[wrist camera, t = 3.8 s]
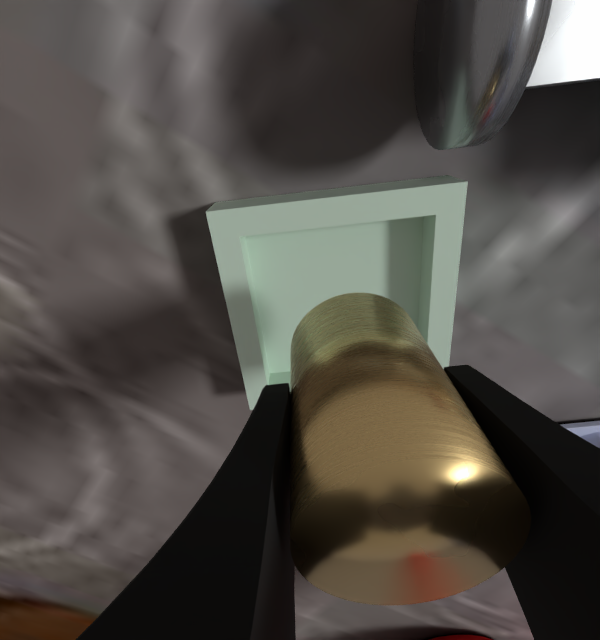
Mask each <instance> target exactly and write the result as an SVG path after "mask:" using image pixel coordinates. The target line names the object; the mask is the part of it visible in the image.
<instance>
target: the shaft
mask: <svg viewBox="0 0 600 640" xmlns="http://www.w3.org/2000/svg"><path fill="white" fill-rule="evenodd" d="M598 80H600V0H418V5H417V14H416V24H415V37H414V90H415V100H416V107H417V113H418V118H419V122H420V126H421V129H422V131H423V134H424V136H425V138H426V140H427V142H428V143H429V144H430V145H431V146H432V147H433V148H435V149H438V150H444V149H452V148H461V147H469V146H478V145H481V144H484V143H486V142H487V141H489V140H490V139H492V138H493V137H494V136H495V135H496V134H497V133H498V132H499V131H500V130H501V128H502V127H503V126H504V125H505V123H506V122H507V121H508V119H509V117H510V116H511V114H512V113H513V111H514V110H515V108H516V106H517V104H518V102H519V100H520V99H521V97H522V95H523V92H524V90H525V89H533V88H542V87H550V86H558V85H566V84H574V83H582V82H590V81H598Z"/></svg>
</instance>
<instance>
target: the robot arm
mask: <svg viewBox="0 0 600 640" xmlns="http://www.w3.org/2000/svg"><path fill="white" fill-rule="evenodd" d="M444 371H445V373H446V374H447V376H448V377H449V379H450V380H451V382H452V384H453V385H454V387H455V388H456V390H457V391H458V393H459V395H460V396H461V398H462V399H463V401H464V402H465V404H466V406H467V407H468V409H469V410H470V412H471V413H472V415H473V416H474V418H475V420H476V421H477V423H478V424H479V426H480V427H481V429H482V431H483V432H484V434H485V435H486V437H487V438H488V440H489V442H490V443H491V445H492V446H493V448H494V449H495V451H496V453H497V454H498V456H499V457H500V459H501V460H502V462H503V464H504V465H505V467H506V468H507V470H508V471H509V473H510V475H511V476H512V478H513V479H514V481H515V482H516V484H517V486H518V487H519V489H520V490H521V492H522V493H523V495H524V497H525V498H526V500H527V503H528V505H529V508H530V513H531V526H530V531H529V534H528V537H527V539H526V541H525V543H524V545H523V547H522V548H521V550H520V551H519V553H518V554H517V555H516V556H515V557H514V558H513V560H512V561H511V562H510V563H509V564H508V565H506V566H505V569H506V571H507V573H508V576H509V578H510V580H511V583H512V585H513V588H514V590H515V593H516V595H517V597H518V600H519V602H520V605H521V607H522V610H523V612H524V615H525V617H526V619H527V622H528V625H529V627H530V630H531V632H532V635H533V637H534V640H600V421H592V422H581V423H570V424H560V425H559V424H558V423H556V422H554V421H553V420H551V419H550V418H548V417H546V416H545V415H543V414H542V413H540V412H539V411H537V410H535V409H534V408H532V407H531V406H529V405H528V404H526V403H525V402H523V401H522V400H520V399H519V398H517V397H516V396H514V395H513V394H511V393H510V392H508V391H507V390H505V389H504V388H502V387H501V386H499V385H498V384H496V383H495V382H493V381H492V380H490V379H489V378H487V377H486V376H484V375H483V374H481V373H480V372H478V371H477V370H475V369H474V368H472V367H471V366H469V365H460V366H450V367H444ZM294 566H295V564H294V561H293V559H292V556H291V551H290V387H289V383H282V384H272V385H266V386H265V387H264V388H263V389H262V391H261V394H260V396H259V398H258V401H257V403H256V405H255V407H254V409H253V411H252V413H251V415H250V417H249V419H248V421H247V423H246V425H245V427H244V429H243V431H242V432H241V434H240V436H239V438H238V440H237V441H236V443H235V445H234V447H233V448H232V450H231V452H230V453H229V455H228V457H227V458H226V460H225V461H224V463H223V464H222V466H221V468H220V469H219V471H218V472H217V474H216V476H215V477H214V479H213V480H212V482H211V483H210V485H209V486H208V487H207V489H206V490H205V492H204V493H203V495H202V496H201V497H200V499H199V500H198V502H197V503H196V504H195V506H194V507H193V508H192V510H191V511H190V512H189V514H188V515H187V516H186V518H185V519H184V520H183V521H182V523H181V524H180V525H179V526H178V528H177V529H176V530H175V531H174V533H173V534H172V535H171V536H170V537H169V539H168V540H167V541H166V542H165V544H164V545H163V546H162V547H161V549H160V550H159V551H158V552H157V553H156V554H155V556H154V557H153V558H152V559H151V560H150V561H149V563H148V564H147V565H146V566H145V567H144V568H143V569H142V571H141V572H140V573H139V574H138V575H137V576H136V577H135V578H134V579H133V580H132V581H131V582H130V583H129V585H128V586H127V587H126V588H125V589H124V590H123V591H122V592H121V593H120V594H119V595H118V596H117V597H116V598H115V600H114V601H113V602H112V603H111V604H110V605H109V606H108V607H107V608H106V609H105V610H104V611H103V612H102V613H101V615H100V616H99V617H98V618H97V619H96V620H95V621H94V622H93V623H92V624H91V625H90V626H89V627H88V628H87V629H86V630H85V631H84V632H83V633H82V634H81V635H80V636H79V637H78V638H77V639H76V640H296V639H295V603H294Z"/></svg>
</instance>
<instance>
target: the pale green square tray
mask: <svg viewBox="0 0 600 640" xmlns="http://www.w3.org/2000/svg"><path fill="white" fill-rule="evenodd" d="M467 184H468V181H465V180H461V179H458V178H455V177H452V176H448V175H445V176H437V177H428V178H419V179H411V180H402V181H394V182H385V183H376V184H368V185H359V186H351V187H342V188H334V189H325V190H316V191H308V192H299V193H291V194H282V195H273V196H265V197H256V198H248V199H239V200H231V201H222V202H215V203H214V204H213V205H212V206H211V207H210V208H209V209H208V210H207V211H206V216H207V221H208V225H209V229H210V234H211V238H212V243H213V247H214V252H215V256H216V261H217V265H218V269H219V274H220V278H221V283H222V287H223V292H224V296H225V301H226V305H227V309H228V314H229V318H230V323H231V327H232V332H233V336H234V341H235V345H236V349H237V354H238V358H239V363H240V367H241V372H242V376H243V381H244V385H245V389H246V394H247V398H248V403H249V407H250V410H253V409H254V407H255V405H256V403H257V401H258V398H259V396H260V394H261V391H262V389H263V388H264V387H265V386H266V385H272V384H282V383H289V387H290V350H291V341H292V338H293V334H294V332H295V330H296V328H297V326H298V324H299V323H300V321H301V320H302V319H303V318H304V316H305V315H306V314H307V313H308V312H309V311H311V310H312V309H313V308H314V307H316V306H317V305H319V304H320V303H322V302H324V301H326V300H328V299H330V298H332V297H335V296H338V295H343V294H347V293H371V294H376V295H380V296H383V297H385V298H388V299H390V300H392V301H393V302H395V303H397V304H398V305H399V306H400V307H402V308H403V309H404V310H405V311H406V312H407V313H408V315H409V316H410V318H411V319H412V321H413V322H414V324H415V325H416V327H417V329H418V330H419V332H420V333H421V335H422V336H423V338H424V340H425V341H426V343H427V344H428V346H429V347H430V349H431V351H432V352H433V354H434V355H435V357H436V358H437V360H438V362H439V363H440V365H441V366H442V368H443V369H444V367H449V359H450V349H451V340H452V330H453V320H454V310H455V301H456V291H457V281H458V272H459V262H460V252H461V242H462V233H463V223H464V213H465V204H466V194H467Z"/></svg>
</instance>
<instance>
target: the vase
mask: <svg viewBox="0 0 600 640" xmlns="http://www.w3.org/2000/svg"><path fill="white" fill-rule="evenodd" d="M429 640H492V639H489V638H486V637H483V636H475V635H450V636H442V637H436V638H433V639H429Z"/></svg>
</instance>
